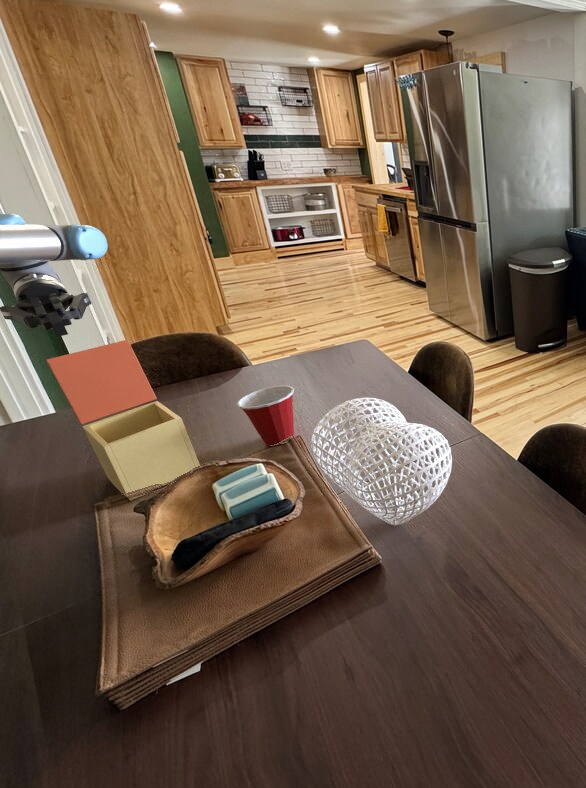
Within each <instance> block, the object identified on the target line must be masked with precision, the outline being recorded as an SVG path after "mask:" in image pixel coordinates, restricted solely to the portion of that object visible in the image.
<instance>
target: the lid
mask: <svg viewBox="0 0 586 788" xmlns="http://www.w3.org/2000/svg"><path fill="white" fill-rule="evenodd" d="M133 349H134V348H132V345H131V343H130V341H129V340H128V339H124V340H120V341H115V342H111V343H108V344H104V345H100V346H96V347H91V348H87V349H83V350H80V351H76V352H75V351H74V352H71V353H68V354H62V355H59V356H56V357H51V358H47V359H46V363H47V365H48V367H49V369H50V370H51V371H52V374H53V376H54V378H55V380H56V381H57V383H58V385H59V387H60V388H61V390H62V393H63V394H64V396H65V398H66V400H67V402H68V404H69V405H70V407H71V409H72V412H73V413H74V415H75V416H76V418H77V420H78V422H79V424H80V425H84V424H87V423H91V422H93V421H96V420H98V419H99V420H100V419H103V418H106V417H107V416H112V415H114V414H118V413H119V412H120V413H121V412H124V411H127V410H130V409H131V408H132V409H133V408H136V407H139V406H142V405H145V404H148V403H150V402H153V401H155V400H157V396H156V394H155V392H154V390H153V388H152V385H151V384H150V382H149V380H148V378H147V376H146V374H145V371H144V369H143V368H142V366H141V363H140V361H139V359H138V358H137V356H136V354H135V352H134V350H133Z"/></svg>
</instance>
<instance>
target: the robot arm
mask: <svg viewBox="0 0 586 788" xmlns="http://www.w3.org/2000/svg"><path fill="white" fill-rule="evenodd" d="M108 245H109V244H108V240H107V237H106V235H105V234H104V233H103V232H102V231H101V230H99V229H98V228H97V227H95V226H91V225H85V224H83V225H81V224H27V222H26V221H25V220H24V219H23V217H21V215H19V214H17V213H0V273H1V274H2V275H3V277H4V278H5V280H6V282H7V283H8V284H9V286H10V287H11V289H12V291H13V294H14V296H15V299H16V303H15V304H14V305H11V306H10V305H2V306H0V313H1V315H2V317H3V318H4V320H10V321H15V322H17V323H18V324H21V325H22V326H24V327H26V328H29V329H35V328H38V327H39V326H42V328H43V329H44V330H45V331H49V330H53V331H54V333H55V335H56V337H64V336H67V335H69V332H68V331H67V328H66V327H67V326H71V325H72V324H73V323H72V321H71V320H75V321H76V320H78V321H79V320H81V319H83V316H84V314H85V312H86V310H87V307H89V306H90V305H92V304H93V303H92V301H91V298H90V296H89V294H88V292H80V293H79V294H76V295H73V294H72V293H69V292H68V291H67V289H66V287H65V286H64V284H63V283H62V281H61V279H60V277H59V275H58V274H57V272H56V271H55V270H54V268H53V266H52V264H51V263H50V262H60V261H61V262H62V261H87V260H97V259H101V258H102V257H103V256H104V255H106V253H107V251H108V249H109V247H108Z"/></svg>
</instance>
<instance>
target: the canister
mask: <svg viewBox="0 0 586 788" xmlns="http://www.w3.org/2000/svg"><path fill="white" fill-rule="evenodd" d="M81 426H82V425H81ZM82 429H83V431H84V433H85V435H86V437H87V440H88V441H89V443H90V445H91V447H92V450H93V451H94V454H95V455H96V458H97V459H98V462H99V463H100V466H101V468H102V469H103V471H104V473H105V477H106V478H107V479H108V480H109V482H111V484H112V485H113V486H114V487H115V488H116V490H118V491H119V492H120V493H121V494H122V493H128V492H132V491H135V490H138V489H142V488H145V487H148V486H151V485H155V484H164V483H167V482H170V481H172V480H174V479H175V478H177V477H179V476H181V475H183V474H185V473H187V472H189V471H190V470H192V469H193V468H195V467H198V466H200V467H201V464H200V462H199V459H198V457H197V454H196V452H195V449H194V446H193V444H192V442H191V439H190V437H189V434H188V431H187V429H186V426H185V424H184V421H183V418H182V417H180V416H179V415H178V414H176V413H175V412H173V411H172V410H171V409H169V408H168V407H166V406H165V405H164V404H162V403H161V402H160V401H158V400H156V401H152V402H149V403H146V404H143V405H140V406H137V407H134V408H132V409H128V410H125V411H122V412H120V413H116V414H115V415H114V414H113V415H110V416H109V417H104V418H101V419H99V420H97V421H96V420H95V421H94V422H93V421H92V422H89V423H88V424H85V425H83V426H82Z"/></svg>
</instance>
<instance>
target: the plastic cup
mask: <svg viewBox="0 0 586 788" xmlns="http://www.w3.org/2000/svg"><path fill="white" fill-rule="evenodd" d="M294 391H295V388H294V387H293V386H292V385H286V384H283V385H273V386H269V387H264V388H261V389H258V390H255V391H253V392H251V393H248V394H245V395H244V396H243V397H241V398H240V399H238V401H237V402H236V406H237V407H238V408H239V409H241V410H242V411H243V413H245V415H246V416H247V417H248V419H249V421H250V422H251V424H252V425H253V428H254V429H255V430H256V432H257V434H258V435H259V437H260V438H261V440H262V442H263V443H264V444H265V445H266V446H267V447H270V445H274V444H277V443H279V442H281V441H282V440H284V439H286V438H288V437H289V436H293V435H294V436H295V425H294V424H295V420H294V419H295V418H294V405H293V401H294V400H293V399H294V398H293V397H294Z"/></svg>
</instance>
